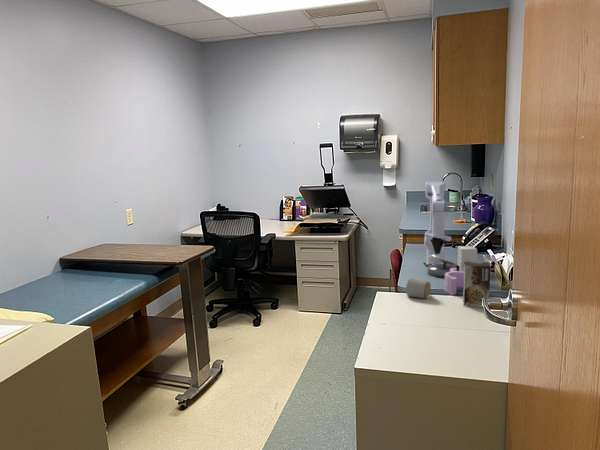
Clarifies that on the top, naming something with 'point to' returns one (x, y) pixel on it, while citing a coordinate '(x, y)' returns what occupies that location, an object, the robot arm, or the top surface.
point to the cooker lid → (443, 260)
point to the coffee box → (476, 282)
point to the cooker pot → (439, 269)
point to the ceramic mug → (418, 288)
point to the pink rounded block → (453, 280)
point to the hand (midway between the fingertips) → (437, 253)
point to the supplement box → (466, 255)
